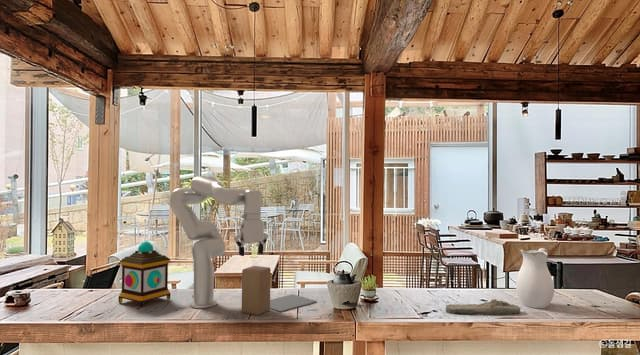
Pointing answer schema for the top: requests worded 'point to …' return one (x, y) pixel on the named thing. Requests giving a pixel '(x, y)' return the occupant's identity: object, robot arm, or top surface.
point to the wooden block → (256, 290)
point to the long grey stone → (484, 308)
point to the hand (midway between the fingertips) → (251, 254)
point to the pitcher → (534, 280)
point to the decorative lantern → (144, 275)
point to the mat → (289, 302)
